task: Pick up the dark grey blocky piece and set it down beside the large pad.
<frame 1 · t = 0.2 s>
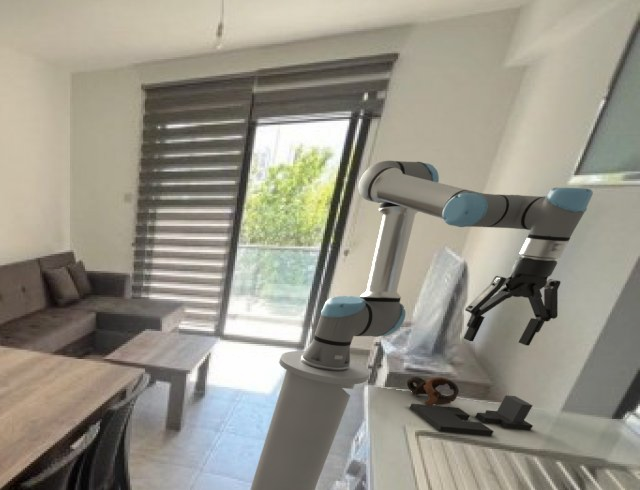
hand: (495, 342, 128), 18 cm above the table, tool pointing down, fingers open, 13 cm apart
large pad: (447, 421, 125), on the table
dark grey blocky piece: (506, 422, 126), on the table
brown looped piece: (425, 401, 137), on the table
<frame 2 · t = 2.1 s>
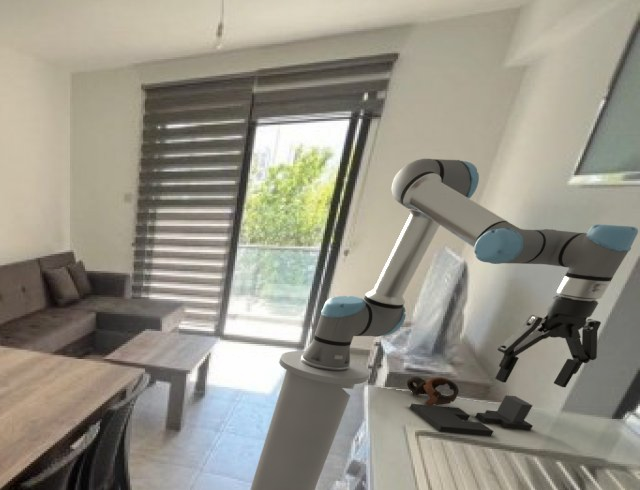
hand: (529, 383, 121), 11 cm above the table, tool pointing down, fingers open, 13 cm apart
nothing on the table moved.
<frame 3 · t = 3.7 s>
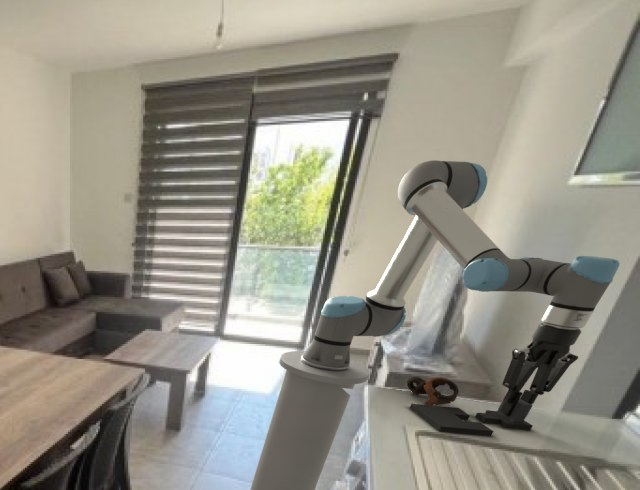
hand: (511, 414, 125), 3 cm above the table, tool pointing down, fingers closed on dark grey blocky piece, 2 cm apart
dark grey blocky piece: (506, 422, 126), on the table, touching gripper
everything else where it was.
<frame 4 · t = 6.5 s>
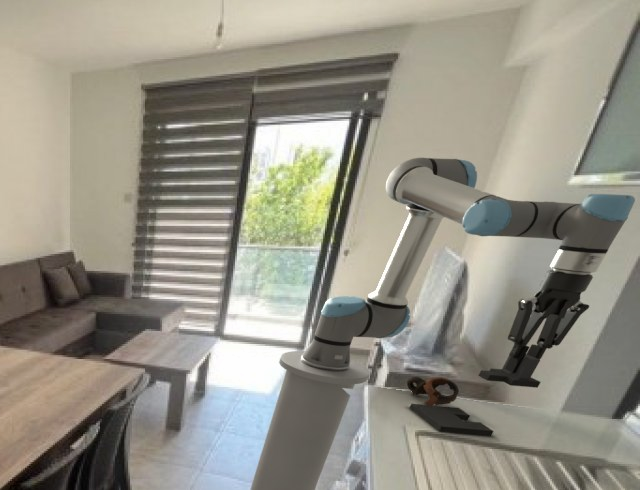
hand: (516, 371, 117), 15 cm above the table, tool pointing down, fingers closed on dark grey blocky piece, 2 cm apart
dark grey blocky piece: (511, 380, 119), point 12 cm above the table, touching gripper
everything else where it was.
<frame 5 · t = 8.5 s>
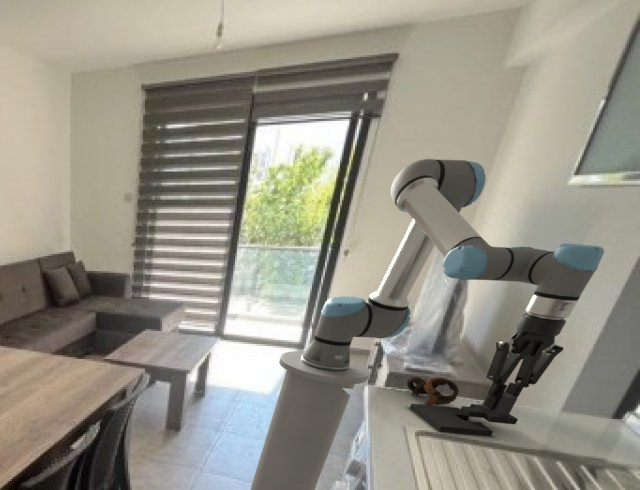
hand: (495, 407, 122), 5 cm above the table, tool pointing down, fingers closed on dark grey blocky piece, 2 cm apart
dark grey blocky piece: (491, 416, 123), point 3 cm above the table, touching gripper
everything else where it was.
when the fingers open (2 cm above the table, at t = 9.4 s): dark grey blocky piece stays where it is, on the table.
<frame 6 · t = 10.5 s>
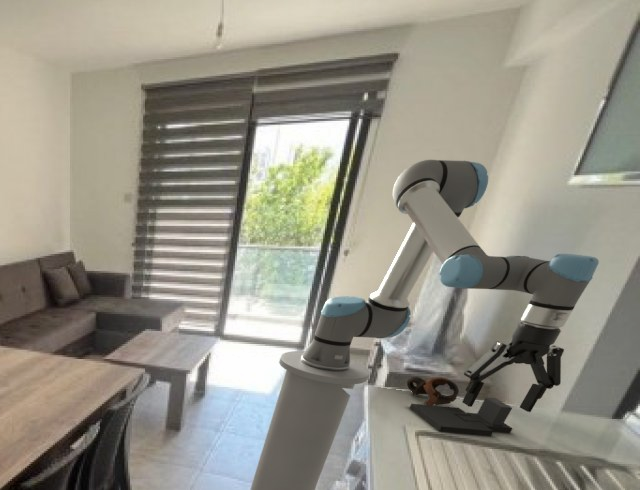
hand: (495, 407, 122), 5 cm above the table, tool pointing down, fingers open, 13 cm apart
dark grey blocky piece: (486, 425, 124), on the table
everything else where it was.
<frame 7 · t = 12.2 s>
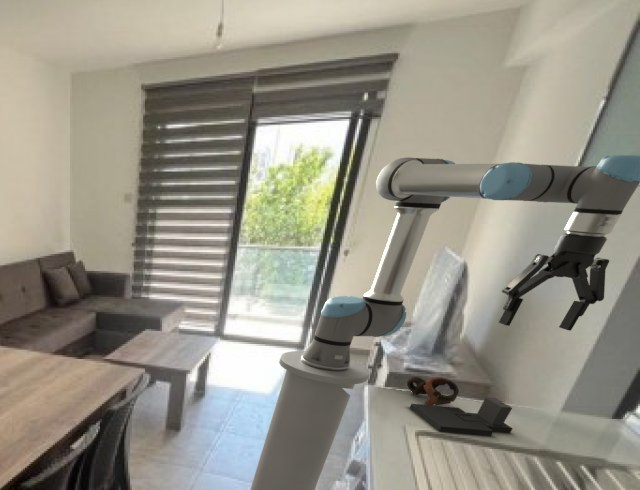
hand: (534, 326, 118), 25 cm above the table, tool pointing down, fingers open, 13 cm apart
nothing on the table moved.
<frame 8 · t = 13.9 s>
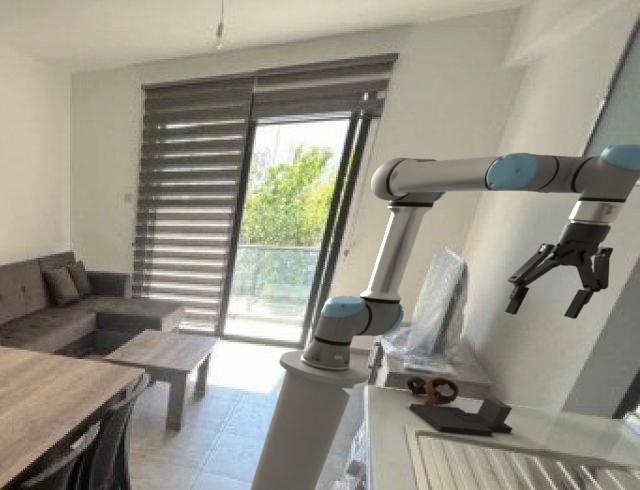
hand: (539, 315, 120), 27 cm above the table, tool pointing down, fingers open, 13 cm apart
nothing on the table moved.
at the end: dark grey blocky piece 0.1 cm from the target spot on the table beside the large pad, on the table; dark grey blocky piece tilted 0°; the gripper is holding nothing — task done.
